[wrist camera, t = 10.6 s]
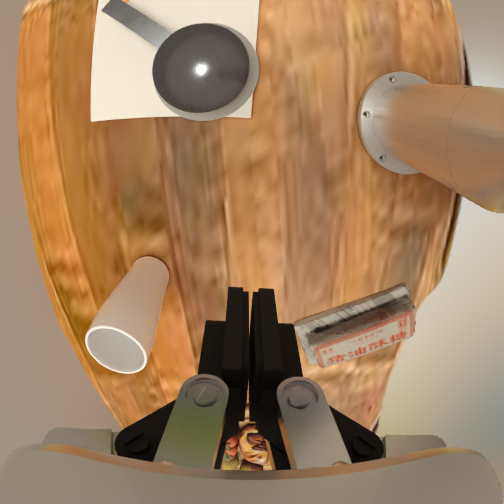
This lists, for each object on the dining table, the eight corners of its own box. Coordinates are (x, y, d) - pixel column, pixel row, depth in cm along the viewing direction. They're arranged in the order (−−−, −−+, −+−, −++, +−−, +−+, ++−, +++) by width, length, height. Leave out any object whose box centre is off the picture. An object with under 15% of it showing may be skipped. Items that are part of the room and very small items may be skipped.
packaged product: (418, 297, 37) (419, 343, 42) (405, 278, 42) (408, 324, 46) (296, 342, 40) (313, 382, 45) (291, 319, 44) (308, 360, 49)
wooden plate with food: (355, 407, 57) (364, 438, 49) (296, 466, 70) (298, 490, 63) (204, 385, 52) (199, 421, 45) (182, 451, 66) (178, 477, 59)
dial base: (266, -27, 23) (267, -33, 21) (255, 122, 31) (255, 123, 30) (107, -16, 22) (101, -20, 20) (96, 124, 31) (90, 125, 29)
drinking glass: (175, 296, 42) (150, 380, 28) (129, 288, 41) (90, 366, 28) (176, 253, 39) (145, 333, 25) (127, 246, 38) (78, 319, 25)
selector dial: (267, 66, 27) (270, 62, 24) (208, 129, 30) (203, 132, 27) (146, -20, 21) (136, -30, 18) (93, 41, 24) (78, 37, 21)
